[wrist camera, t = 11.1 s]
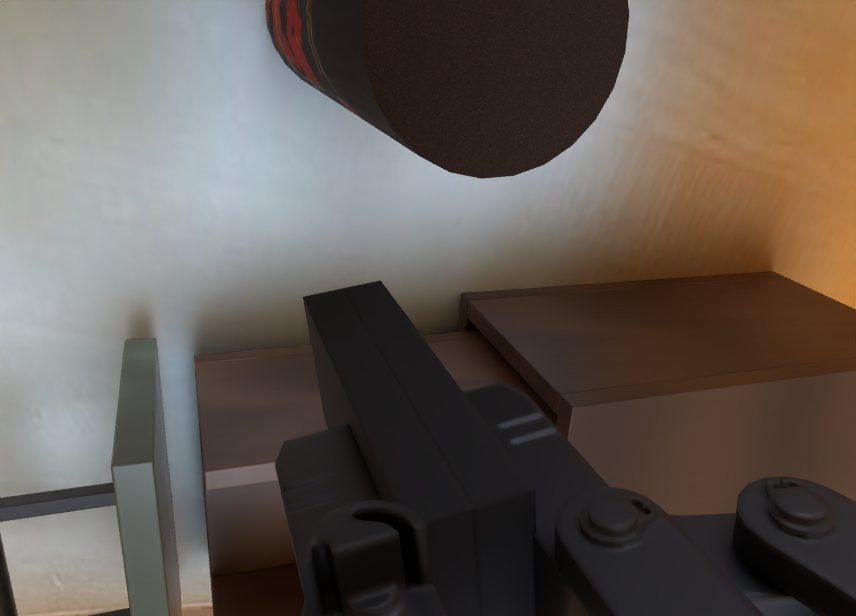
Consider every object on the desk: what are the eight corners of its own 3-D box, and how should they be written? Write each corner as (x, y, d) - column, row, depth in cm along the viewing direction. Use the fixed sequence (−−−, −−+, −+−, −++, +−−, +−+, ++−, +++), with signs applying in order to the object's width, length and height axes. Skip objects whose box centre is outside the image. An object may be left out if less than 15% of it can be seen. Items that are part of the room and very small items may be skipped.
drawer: (19, 621, 32) (-26, 819, 25) (-39, 351, 27) (-119, 496, 19) (492, 533, 40) (572, 664, 32) (519, 308, 34) (622, 399, 27)
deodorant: (386, 114, 30) (558, 211, 17) (245, 60, 27) (320, 126, 14) (438, -32, 28) (673, -49, 15) (294, -103, 26) (428, -197, 13)
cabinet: (440, 539, 40) (524, 707, 31) (460, 292, 34) (572, 406, 25) (716, 488, 46) (857, 616, 37) (773, 271, 40) (958, 356, 31)
